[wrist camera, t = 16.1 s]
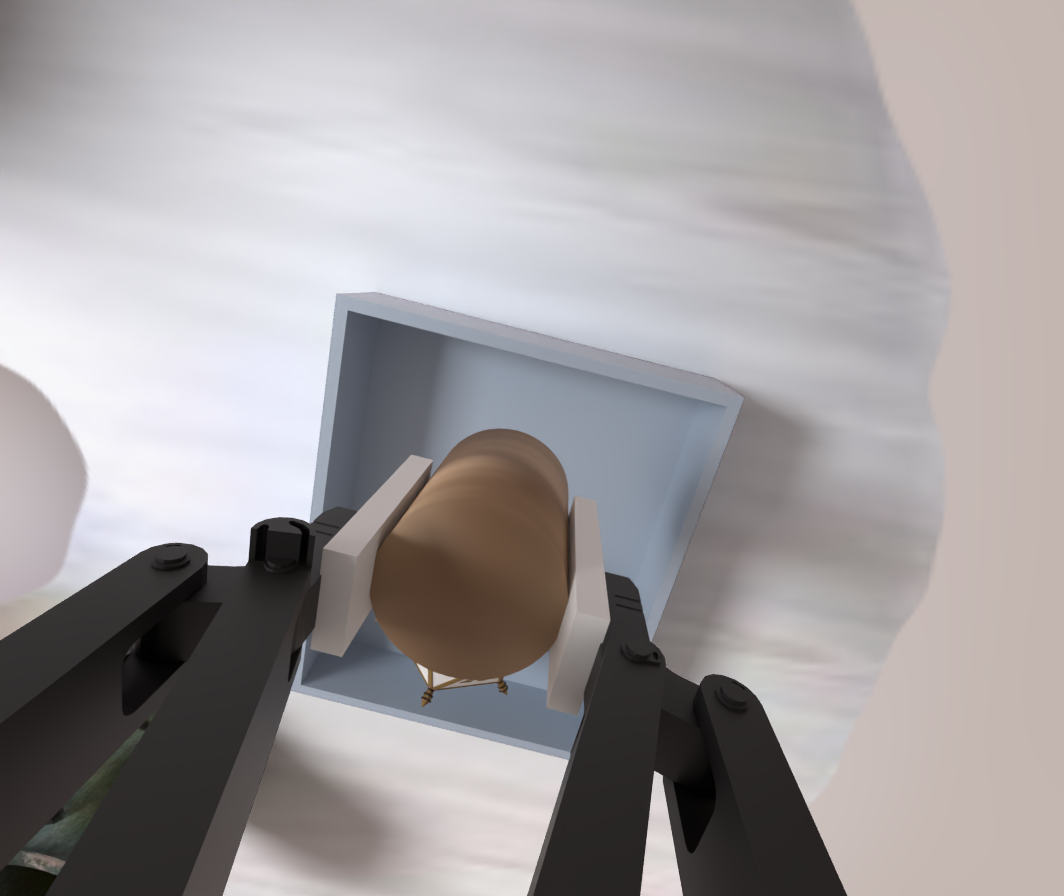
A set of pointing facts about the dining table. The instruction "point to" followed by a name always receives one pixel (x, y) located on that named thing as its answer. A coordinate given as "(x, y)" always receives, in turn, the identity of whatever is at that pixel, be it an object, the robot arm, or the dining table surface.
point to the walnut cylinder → (479, 560)
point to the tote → (530, 407)
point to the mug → (64, 829)
